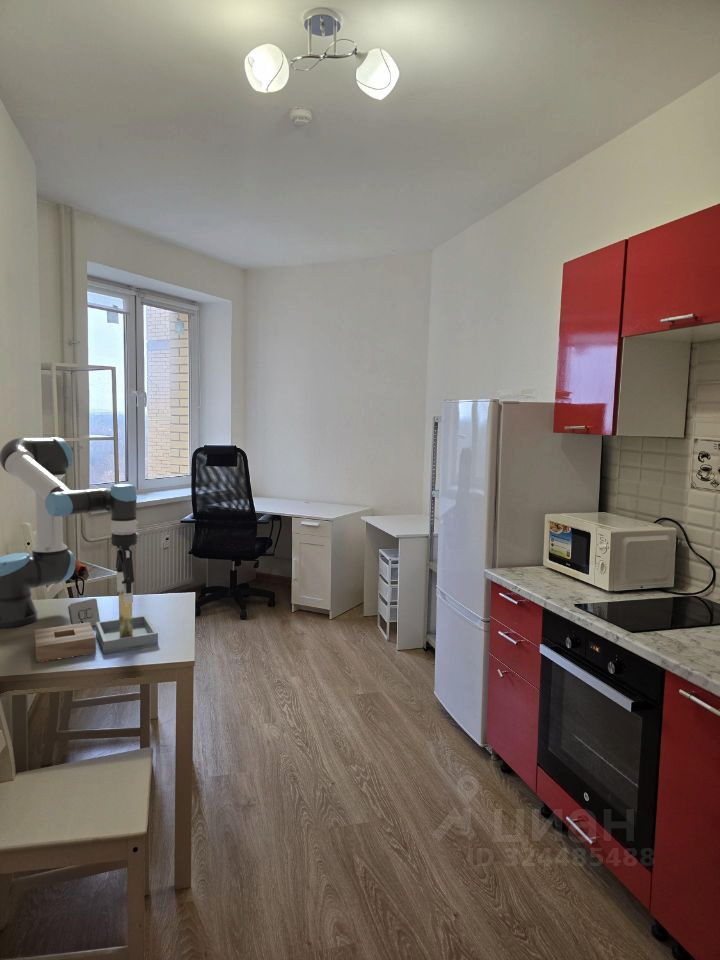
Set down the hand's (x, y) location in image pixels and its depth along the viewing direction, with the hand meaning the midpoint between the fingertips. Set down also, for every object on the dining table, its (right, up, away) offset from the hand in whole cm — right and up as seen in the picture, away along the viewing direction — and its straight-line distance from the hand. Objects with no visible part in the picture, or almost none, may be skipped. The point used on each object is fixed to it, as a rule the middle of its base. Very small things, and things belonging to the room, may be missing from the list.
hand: (124, 596), depth 193 cm
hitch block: (-16, -15, -8) cm, 23 cm away
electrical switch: (-20, -13, +13) cm, 27 cm away
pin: (0, -13, +1) cm, 13 cm away
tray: (0, -14, +1) cm, 14 cm away
